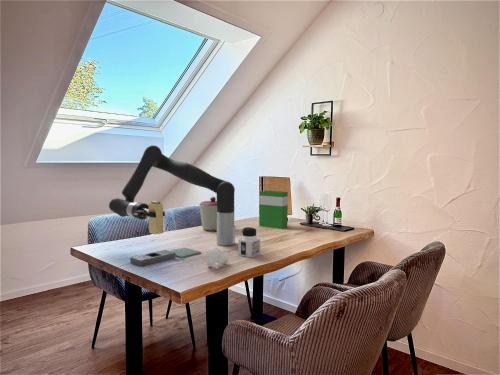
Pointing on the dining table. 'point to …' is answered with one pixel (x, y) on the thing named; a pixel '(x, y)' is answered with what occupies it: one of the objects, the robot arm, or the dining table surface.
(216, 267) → the white humped figurine
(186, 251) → the mat
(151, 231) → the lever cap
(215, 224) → the canister
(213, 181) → the robot arm
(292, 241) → the dining table surface
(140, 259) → the plane body
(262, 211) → the green cereal box
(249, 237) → the container
